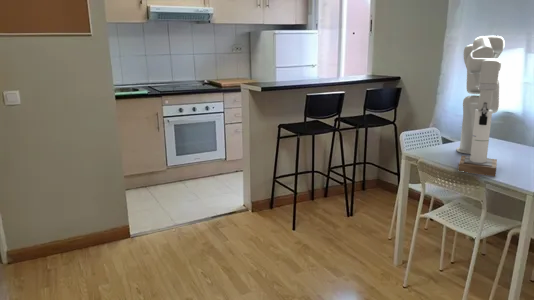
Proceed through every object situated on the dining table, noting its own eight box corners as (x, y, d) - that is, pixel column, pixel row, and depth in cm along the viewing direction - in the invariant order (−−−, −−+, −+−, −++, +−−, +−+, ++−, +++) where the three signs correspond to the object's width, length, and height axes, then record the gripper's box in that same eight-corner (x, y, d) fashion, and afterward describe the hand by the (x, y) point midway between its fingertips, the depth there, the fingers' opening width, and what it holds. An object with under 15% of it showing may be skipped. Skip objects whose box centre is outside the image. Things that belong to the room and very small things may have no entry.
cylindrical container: (479, 157, 208) (485, 108, 201) (489, 161, 201) (495, 110, 194) (466, 159, 206) (472, 109, 200) (476, 163, 200) (482, 111, 193)
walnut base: (460, 162, 215) (461, 154, 214) (495, 167, 208) (497, 158, 207) (457, 171, 202) (458, 163, 200) (495, 176, 194) (496, 167, 193)
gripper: (479, 84, 203) (475, 119, 207) (477, 88, 188) (473, 125, 193) (497, 85, 199) (492, 120, 204) (496, 89, 185) (491, 127, 189)
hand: (483, 122), depth 198 cm, fingers open, 9 cm apart
